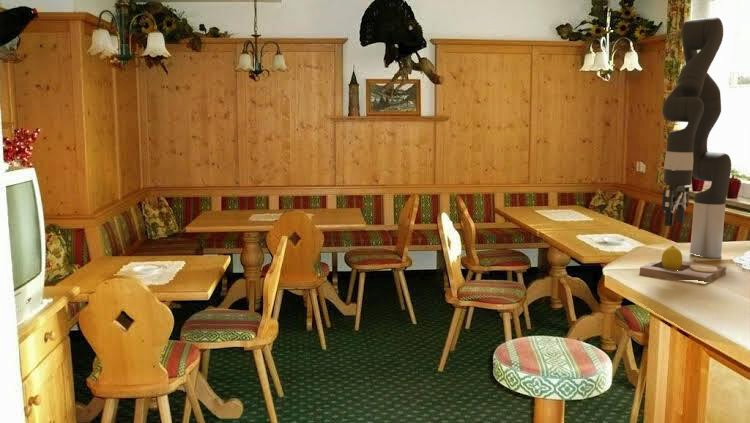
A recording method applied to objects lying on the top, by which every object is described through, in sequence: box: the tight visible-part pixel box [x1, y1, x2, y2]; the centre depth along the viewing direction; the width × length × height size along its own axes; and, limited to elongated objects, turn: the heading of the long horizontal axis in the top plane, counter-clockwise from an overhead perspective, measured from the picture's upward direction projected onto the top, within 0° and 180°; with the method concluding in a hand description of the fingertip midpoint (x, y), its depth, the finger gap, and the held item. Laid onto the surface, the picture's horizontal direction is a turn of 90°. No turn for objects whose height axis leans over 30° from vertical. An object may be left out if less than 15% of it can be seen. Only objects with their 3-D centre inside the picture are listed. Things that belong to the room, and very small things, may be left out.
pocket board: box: [639, 258, 727, 283], centre depth 214 cm, size 18×18×2 cm
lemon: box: [661, 245, 683, 270], centre depth 215 cm, size 6×6×8 cm
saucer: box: [690, 263, 717, 272], centre depth 211 cm, size 7×7×1 cm
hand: (673, 224), depth 213 cm, fingers open, 8 cm apart
